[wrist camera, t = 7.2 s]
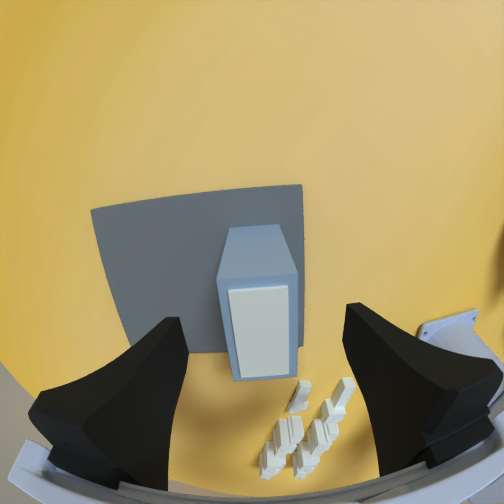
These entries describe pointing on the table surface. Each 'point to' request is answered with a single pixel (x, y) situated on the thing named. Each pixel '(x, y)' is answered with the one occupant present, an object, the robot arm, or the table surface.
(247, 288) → the block
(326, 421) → the modular blocks
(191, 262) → the mat
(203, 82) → the table surface
